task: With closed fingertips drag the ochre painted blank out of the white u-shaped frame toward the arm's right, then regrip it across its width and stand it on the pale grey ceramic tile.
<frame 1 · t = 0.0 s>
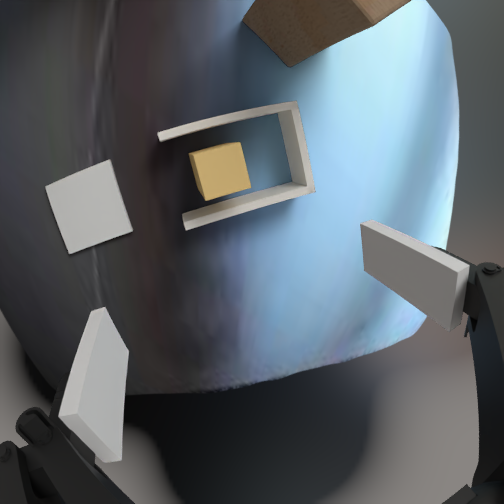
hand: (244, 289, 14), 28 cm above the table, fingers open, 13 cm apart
wooden block: (288, 27, 35), on the table
white u-shaped frame: (233, 160, 39), on the table
blank: (211, 166, 39), on the table
tile: (88, 207, 36), on the table
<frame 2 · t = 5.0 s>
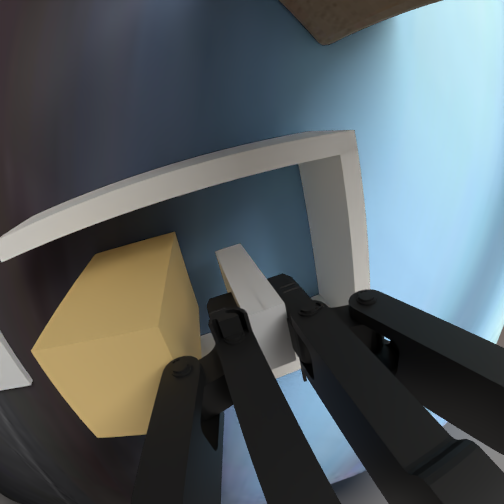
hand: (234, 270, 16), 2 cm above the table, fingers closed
white u-shaped frame: (194, 264, 18), on the table
blank: (147, 281, 17), on the table, tilted 6°, touching gripper
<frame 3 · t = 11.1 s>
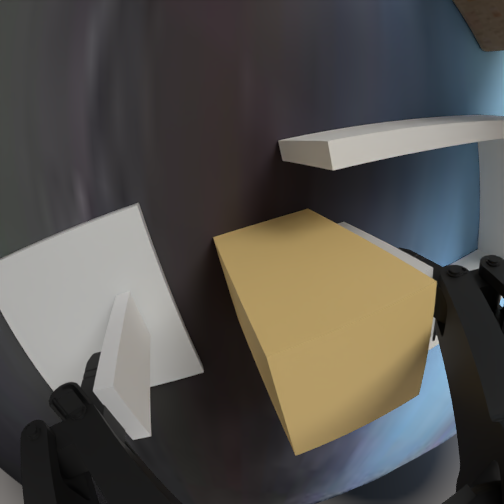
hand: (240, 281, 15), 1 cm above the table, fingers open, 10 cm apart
white u-shaped frame: (418, 213, 17), on the table
blank: (272, 267, 16), on the table
tile: (88, 321, 14), on the table
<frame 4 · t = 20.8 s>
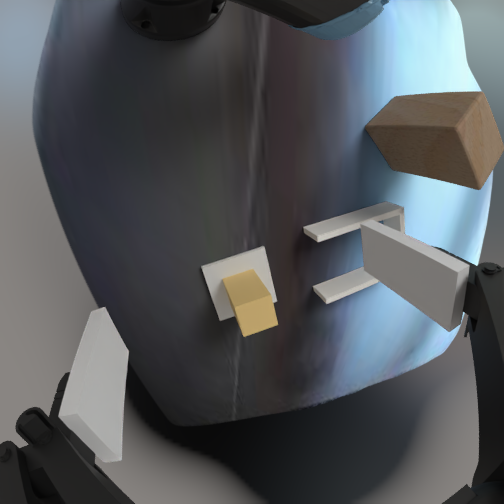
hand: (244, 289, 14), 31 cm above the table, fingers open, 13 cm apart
wooden block: (393, 132, 47), on the table
white u-shaped frame: (351, 245, 52), on the table
blank: (241, 287, 48), point 1 cm above the table, touching tile
tile: (240, 284, 49), on the table
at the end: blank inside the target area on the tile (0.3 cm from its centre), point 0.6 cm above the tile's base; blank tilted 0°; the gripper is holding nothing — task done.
